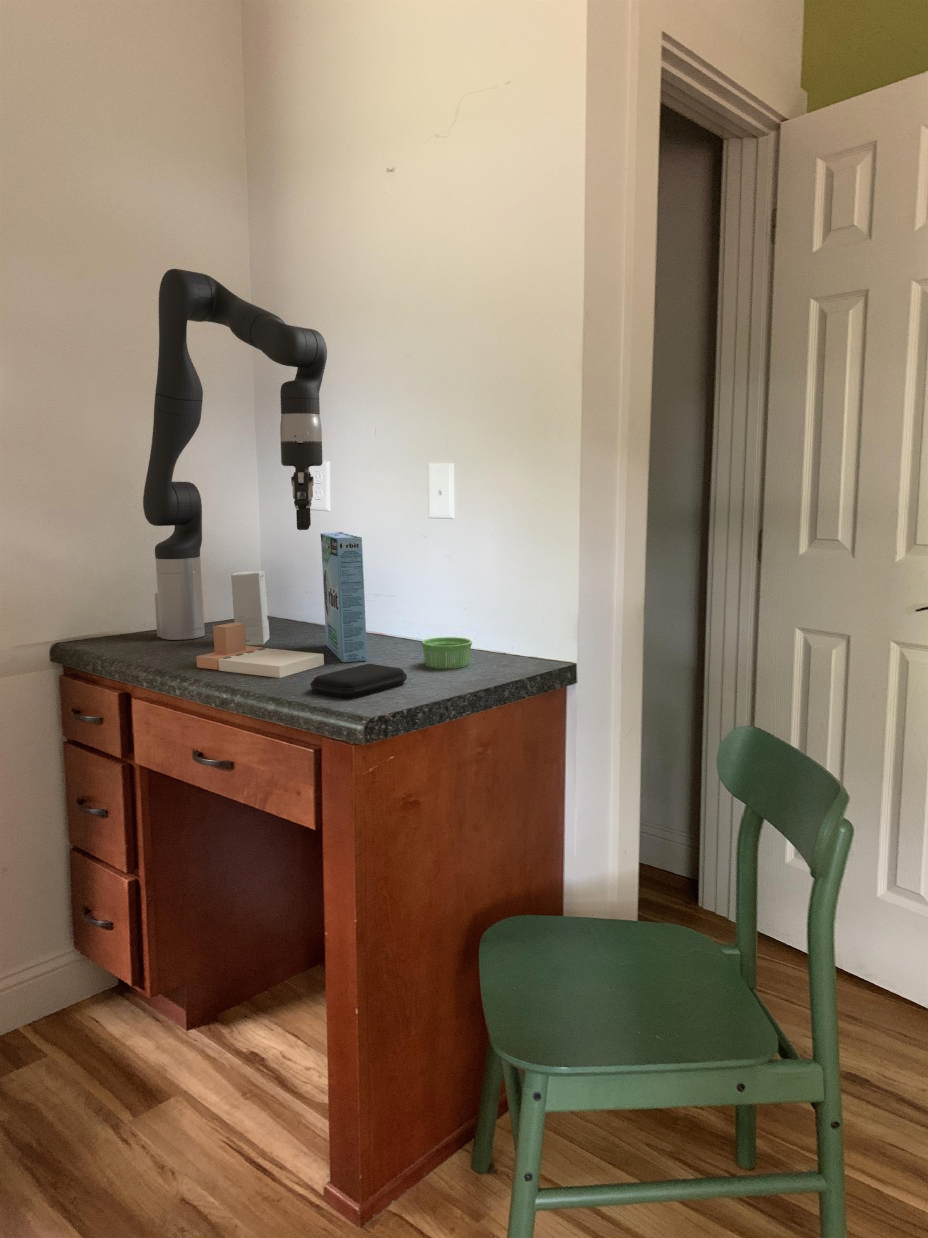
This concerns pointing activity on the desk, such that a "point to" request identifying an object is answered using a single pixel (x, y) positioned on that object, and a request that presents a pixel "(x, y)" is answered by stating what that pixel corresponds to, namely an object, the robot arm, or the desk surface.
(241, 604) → the skincare box
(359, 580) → the gum box
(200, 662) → the stub
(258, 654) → the plate
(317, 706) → the desk surface
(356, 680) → the carrying case or bag
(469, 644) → the ramekin
